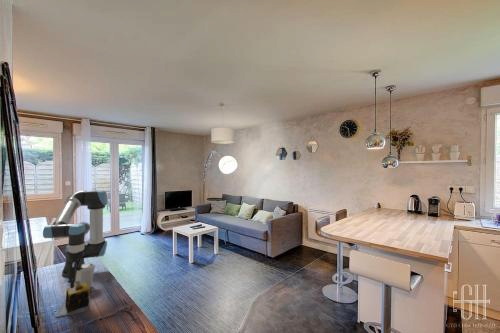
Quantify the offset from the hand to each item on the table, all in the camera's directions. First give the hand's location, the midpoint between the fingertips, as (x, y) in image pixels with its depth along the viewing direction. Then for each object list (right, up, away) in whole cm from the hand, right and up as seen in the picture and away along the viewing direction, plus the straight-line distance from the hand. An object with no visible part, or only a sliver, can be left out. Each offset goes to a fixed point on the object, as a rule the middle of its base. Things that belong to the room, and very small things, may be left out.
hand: (75, 286), depth 133 cm
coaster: (0, -12, -1) cm, 12 cm away
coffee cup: (-9, -12, +22) cm, 27 cm away
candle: (+1, -12, 0) cm, 12 cm away
